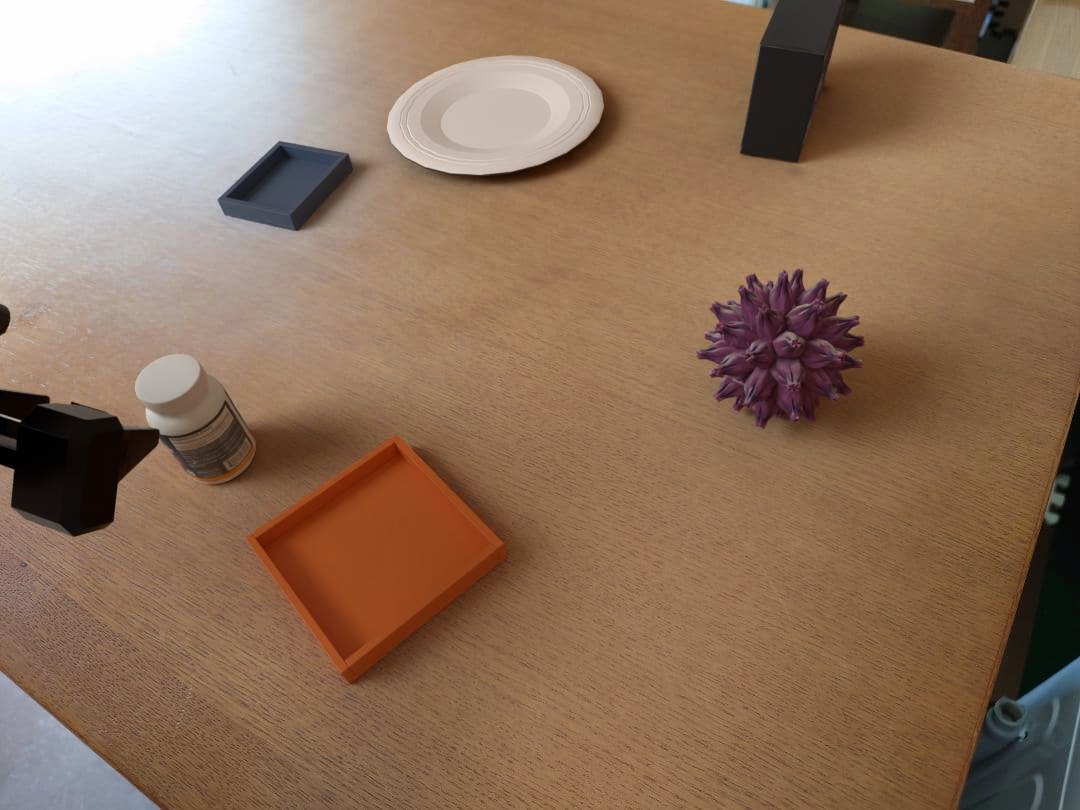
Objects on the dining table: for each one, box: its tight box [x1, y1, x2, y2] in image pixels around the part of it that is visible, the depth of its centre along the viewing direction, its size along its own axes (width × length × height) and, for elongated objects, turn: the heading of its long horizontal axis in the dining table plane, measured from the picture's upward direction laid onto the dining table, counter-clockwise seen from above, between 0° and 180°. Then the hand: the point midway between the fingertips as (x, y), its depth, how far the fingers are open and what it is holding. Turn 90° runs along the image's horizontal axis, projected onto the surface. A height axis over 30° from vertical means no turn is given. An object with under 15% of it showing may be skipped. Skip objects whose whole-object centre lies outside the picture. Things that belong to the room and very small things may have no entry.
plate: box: [386, 54, 605, 177], centre depth 89 cm, size 25×25×2 cm
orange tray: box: [244, 433, 508, 685], centre depth 55 cm, size 13×13×2 cm
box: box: [739, 0, 846, 163], centre depth 81 cm, size 17×7×12 cm, turn 158°
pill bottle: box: [134, 353, 257, 485], centre depth 59 cm, size 6×6×10 cm
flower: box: [696, 268, 866, 430], centre depth 57 cm, size 12×12×12 cm
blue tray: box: [217, 140, 354, 232], centre depth 84 cm, size 11×9×2 cm
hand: (101, 419), depth 50 cm, fingers open, 9 cm apart
